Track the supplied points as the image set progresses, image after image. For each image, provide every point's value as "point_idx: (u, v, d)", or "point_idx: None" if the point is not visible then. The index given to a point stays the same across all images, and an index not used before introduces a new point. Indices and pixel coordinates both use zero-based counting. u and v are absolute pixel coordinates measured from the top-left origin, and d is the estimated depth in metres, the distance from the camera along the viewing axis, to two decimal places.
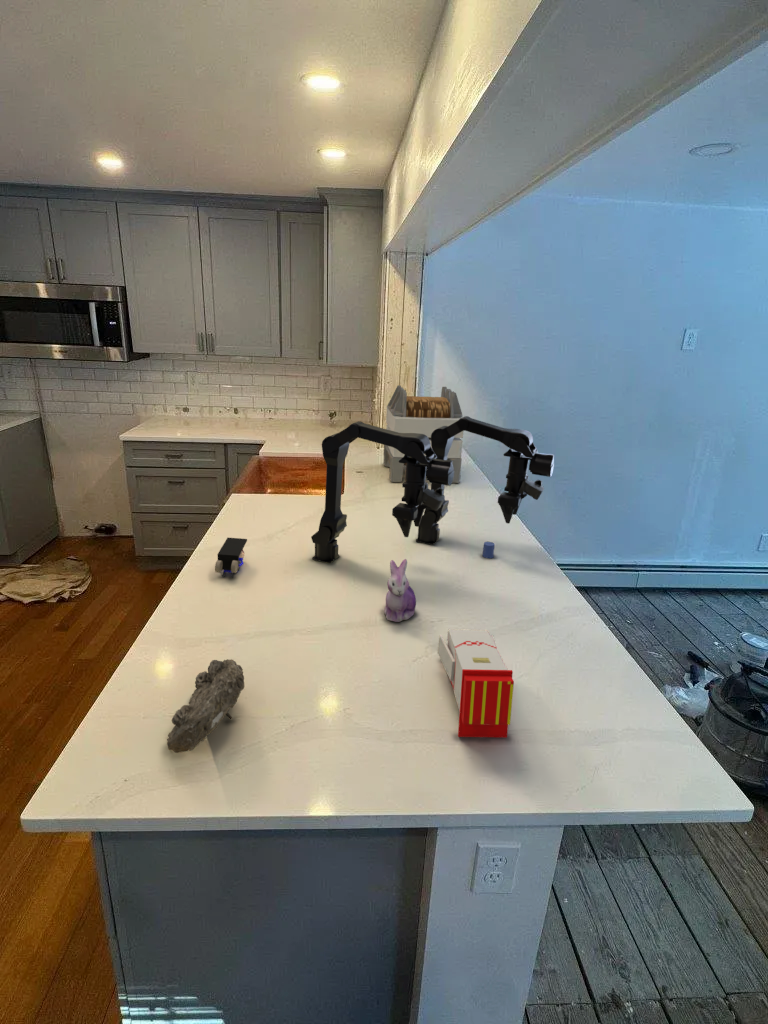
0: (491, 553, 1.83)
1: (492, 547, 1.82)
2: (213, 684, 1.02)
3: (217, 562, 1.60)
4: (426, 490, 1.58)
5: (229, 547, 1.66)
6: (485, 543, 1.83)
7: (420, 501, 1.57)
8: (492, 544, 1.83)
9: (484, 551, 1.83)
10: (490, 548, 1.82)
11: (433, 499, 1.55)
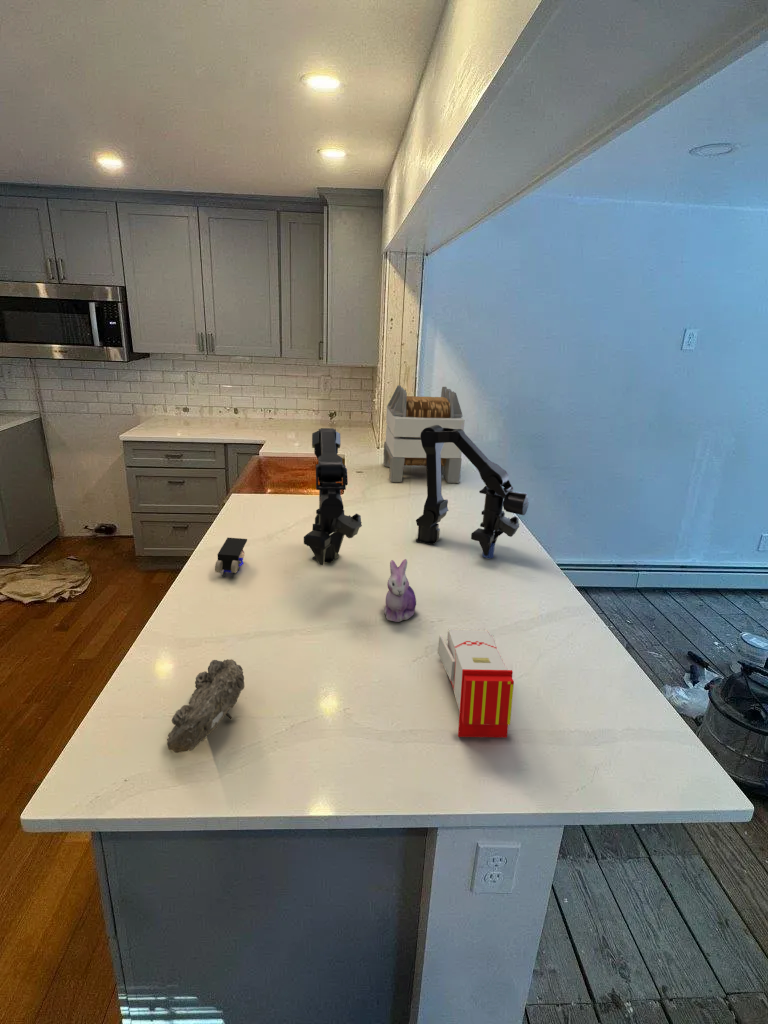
0: (491, 553, 1.83)
1: (492, 547, 1.82)
2: (213, 684, 1.02)
3: (217, 562, 1.60)
4: (341, 516, 1.52)
5: (229, 547, 1.66)
6: None
7: (334, 528, 1.50)
8: (492, 544, 1.83)
9: None
10: (490, 548, 1.82)
11: (347, 526, 1.49)
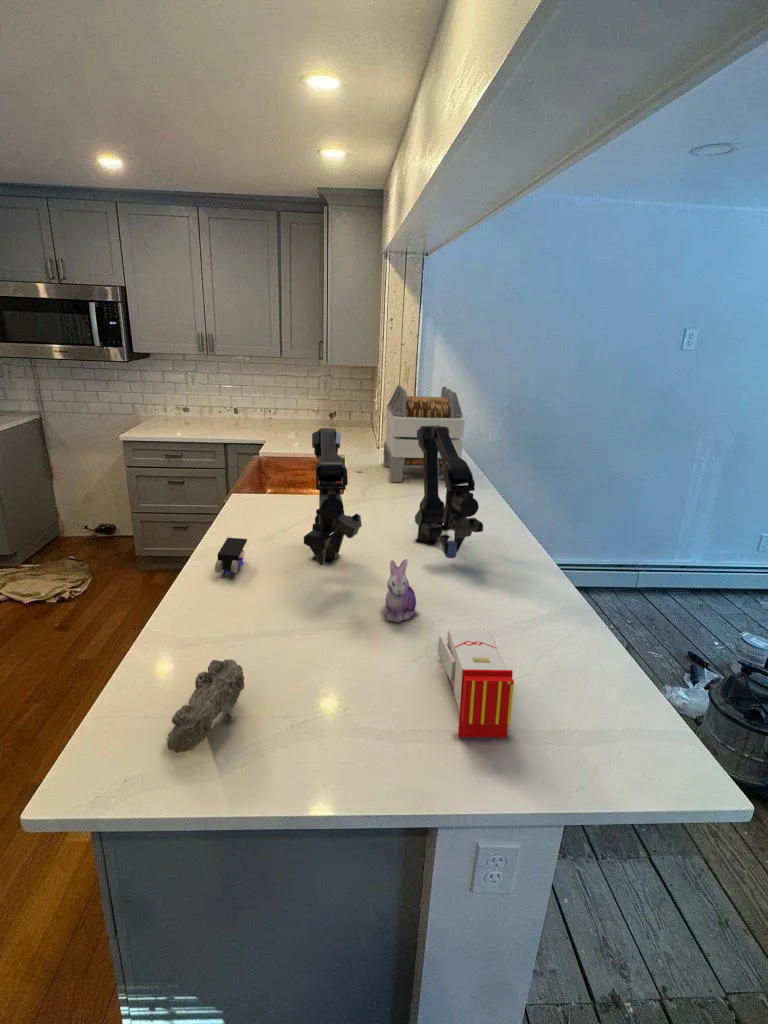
0: (450, 553, 1.74)
1: (451, 546, 1.74)
2: (213, 684, 1.02)
3: (217, 562, 1.60)
4: (341, 516, 1.52)
5: (229, 547, 1.66)
6: (448, 541, 1.76)
7: (334, 528, 1.50)
8: (453, 544, 1.74)
9: None
10: (449, 547, 1.74)
11: (347, 526, 1.49)
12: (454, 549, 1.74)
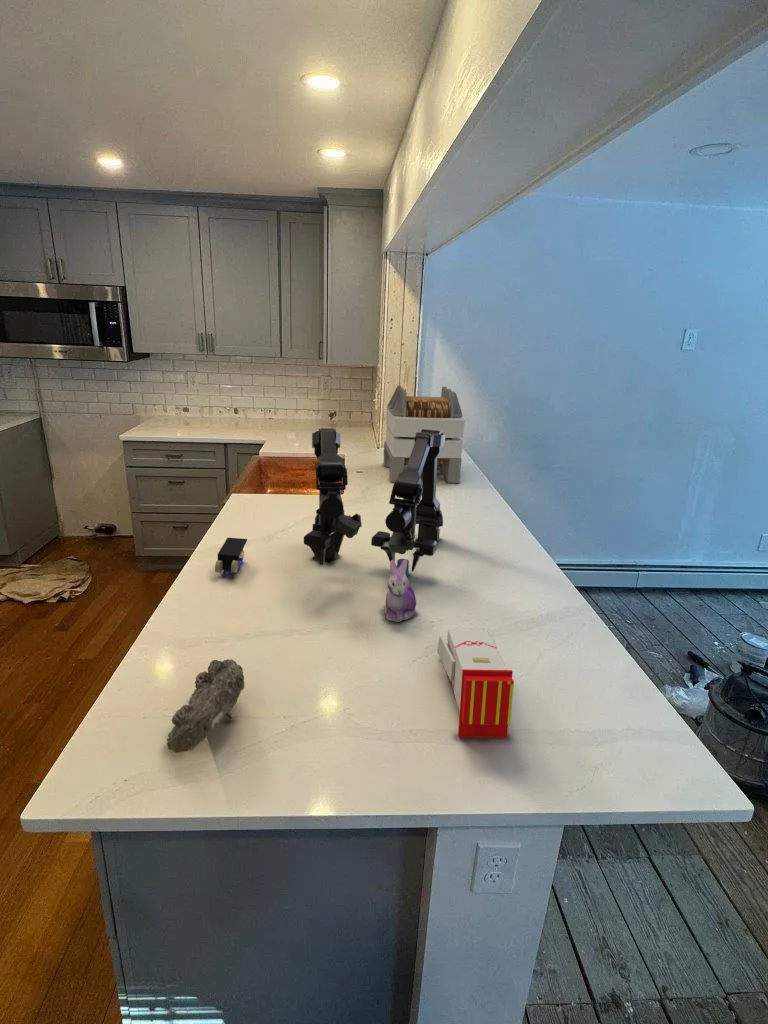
0: None
1: (398, 564, 1.67)
2: (213, 684, 1.02)
3: (217, 562, 1.60)
4: (341, 516, 1.52)
5: (229, 547, 1.66)
6: (402, 559, 1.69)
7: (334, 528, 1.50)
8: None
9: None
10: (397, 564, 1.68)
11: (347, 526, 1.49)
12: None
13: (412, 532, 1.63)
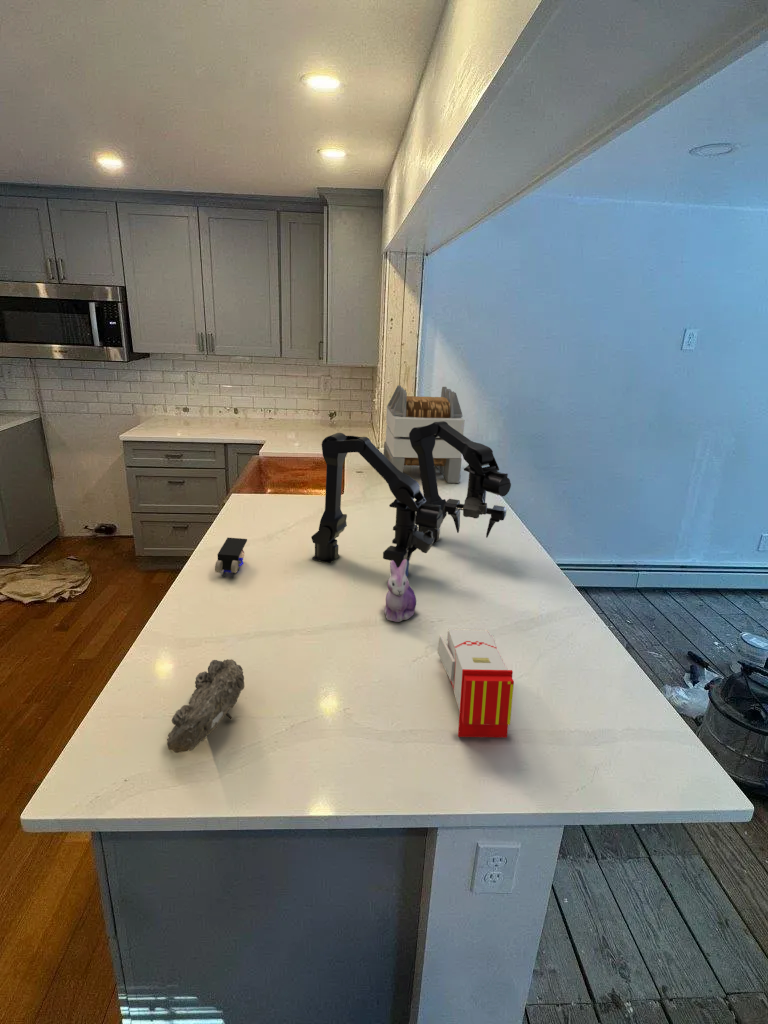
0: None
1: None
2: (213, 684, 1.02)
3: (217, 562, 1.60)
4: (416, 533, 1.64)
5: (229, 547, 1.66)
6: None
7: (410, 544, 1.62)
8: None
9: None
10: None
11: (422, 542, 1.61)
12: None
13: (484, 498, 1.73)
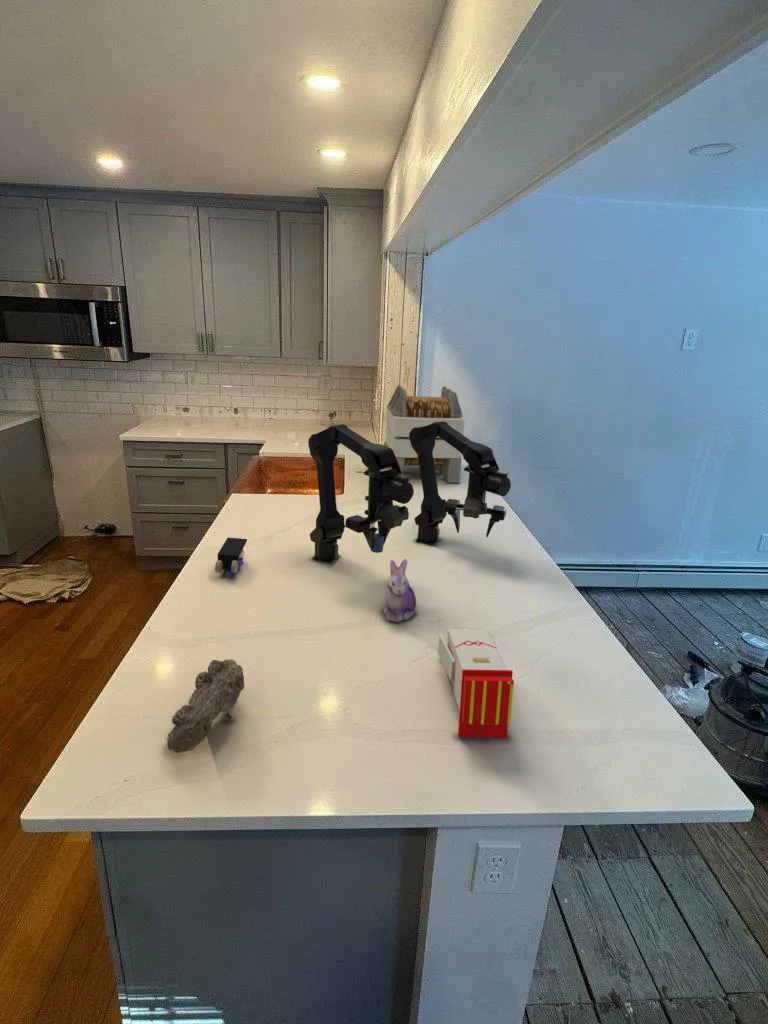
0: None
1: None
2: (213, 684, 1.02)
3: (217, 562, 1.60)
4: (387, 506, 1.51)
5: (229, 547, 1.66)
6: (378, 534, 1.58)
7: (377, 516, 1.51)
8: None
9: None
10: None
11: (387, 516, 1.48)
12: None
13: (484, 498, 1.73)
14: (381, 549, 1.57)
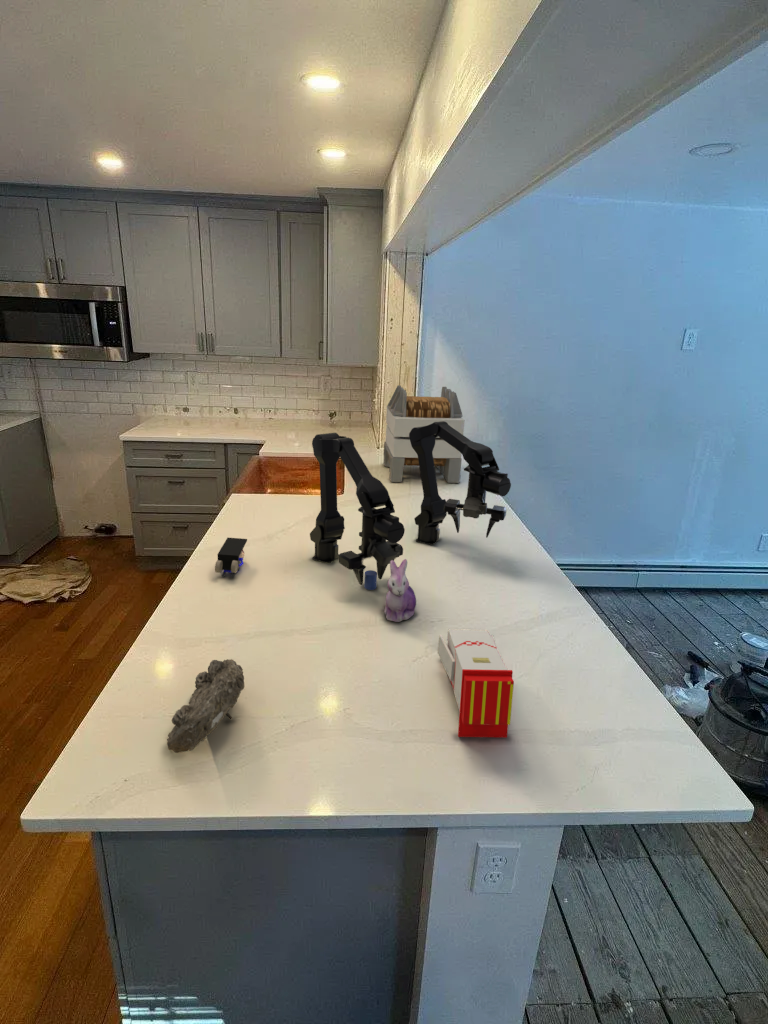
0: (364, 581, 1.60)
1: None
2: (213, 684, 1.02)
3: (217, 562, 1.60)
4: (379, 543, 1.53)
5: (229, 547, 1.66)
6: (372, 571, 1.61)
7: (369, 553, 1.53)
8: (367, 573, 1.59)
9: None
10: None
11: (378, 554, 1.50)
12: (366, 579, 1.59)
13: (484, 498, 1.73)
14: (374, 586, 1.60)
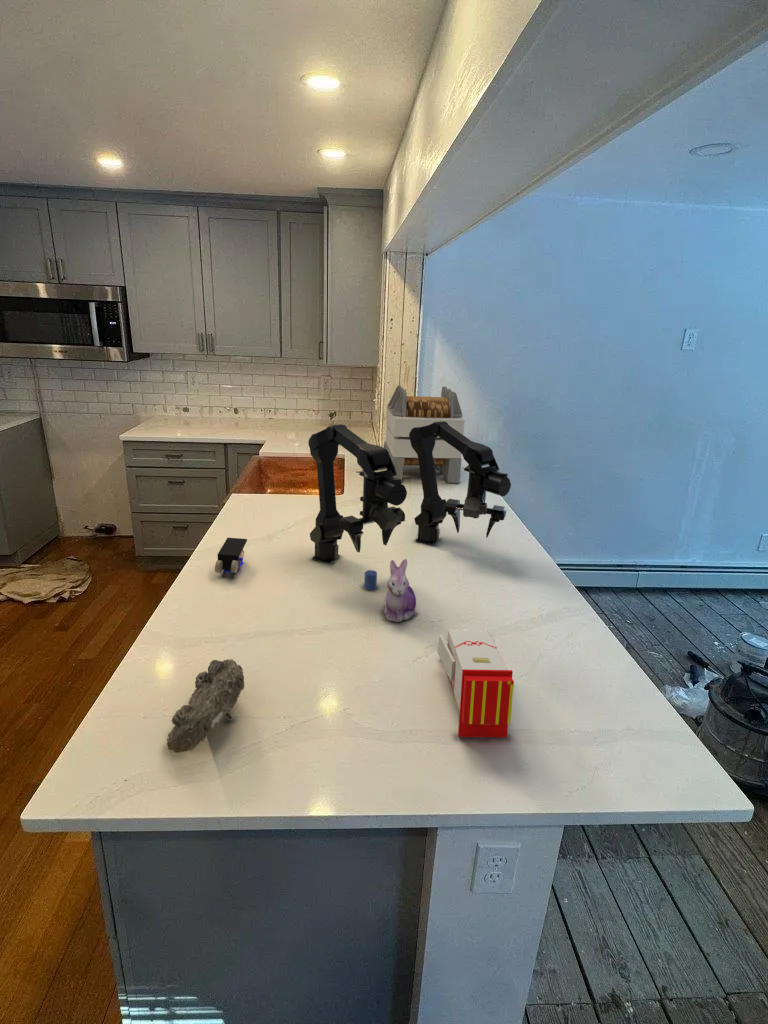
0: (364, 581, 1.60)
1: None
2: (213, 684, 1.02)
3: (217, 562, 1.60)
4: (381, 507, 1.50)
5: (229, 547, 1.66)
6: (372, 571, 1.61)
7: (370, 517, 1.50)
8: (367, 573, 1.59)
9: None
10: None
11: (380, 517, 1.47)
12: (366, 579, 1.59)
13: (484, 498, 1.73)
14: (374, 586, 1.60)
